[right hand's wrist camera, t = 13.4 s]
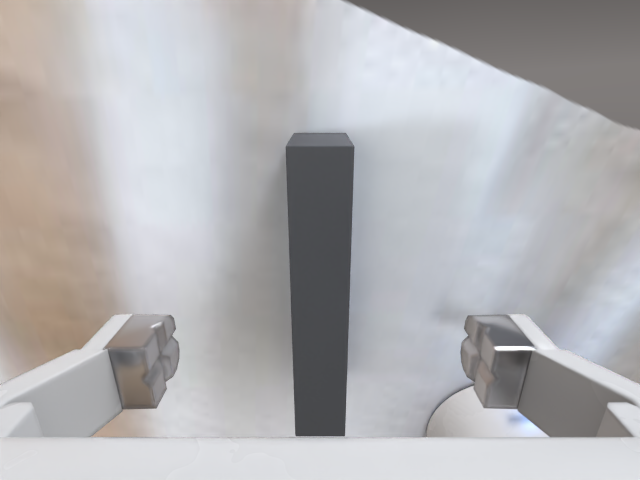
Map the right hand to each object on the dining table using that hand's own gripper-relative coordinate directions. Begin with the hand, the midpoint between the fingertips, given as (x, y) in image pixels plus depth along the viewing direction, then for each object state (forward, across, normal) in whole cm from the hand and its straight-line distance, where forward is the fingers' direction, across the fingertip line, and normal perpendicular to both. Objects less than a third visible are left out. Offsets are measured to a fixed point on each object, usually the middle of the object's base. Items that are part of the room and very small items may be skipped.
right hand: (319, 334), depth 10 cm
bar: (+24, 0, -10) cm, 26 cm away
